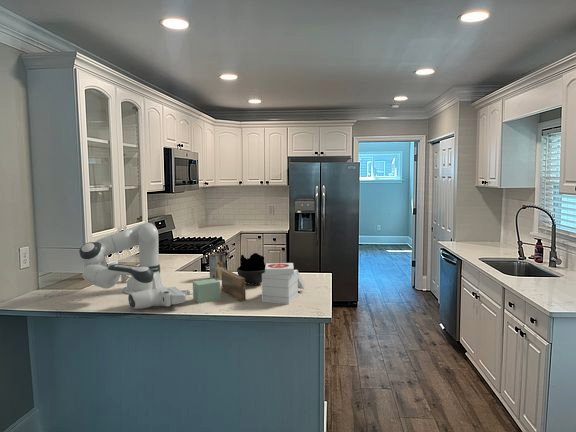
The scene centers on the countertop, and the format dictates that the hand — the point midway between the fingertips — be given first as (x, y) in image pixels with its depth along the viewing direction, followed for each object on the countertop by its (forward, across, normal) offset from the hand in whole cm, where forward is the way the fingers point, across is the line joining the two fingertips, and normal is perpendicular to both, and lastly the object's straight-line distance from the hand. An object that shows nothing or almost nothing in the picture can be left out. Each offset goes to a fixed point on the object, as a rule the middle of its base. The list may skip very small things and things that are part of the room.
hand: (189, 292), depth 229 cm
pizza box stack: (+48, +17, -6) cm, 51 cm away
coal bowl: (+46, -16, -6) cm, 49 cm away
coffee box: (+32, -42, -6) cm, 54 cm away
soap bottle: (-26, -87, -6) cm, 91 cm away
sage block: (+10, 0, -6) cm, 11 cm away
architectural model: (-21, -67, -6) cm, 70 cm away
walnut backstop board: (+25, 0, -6) cm, 26 cm away
